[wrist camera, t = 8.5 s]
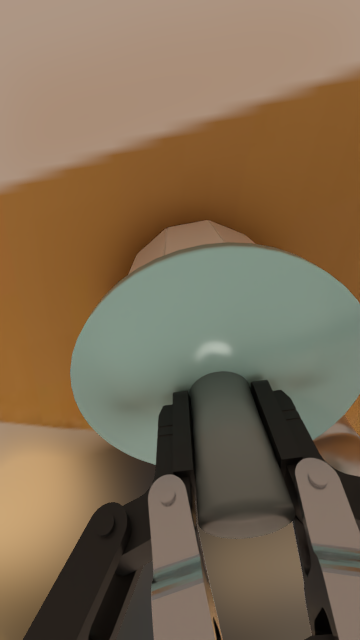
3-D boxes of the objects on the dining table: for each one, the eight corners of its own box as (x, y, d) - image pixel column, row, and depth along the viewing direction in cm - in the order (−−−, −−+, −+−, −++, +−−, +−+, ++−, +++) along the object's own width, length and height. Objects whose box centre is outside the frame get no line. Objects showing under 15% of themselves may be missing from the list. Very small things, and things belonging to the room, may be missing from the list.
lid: (398, 213, 9) (723, 273, 4) (330, 442, 16) (406, 570, 11) (23, 273, 9) (-153, 393, 4) (122, 465, 17) (99, 595, 12)
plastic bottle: (251, 395, 29) (367, 721, 12) (253, 350, 25) (423, 723, 8) (307, 389, 29) (507, 714, 11) (317, 343, 25) (628, 713, 8)
